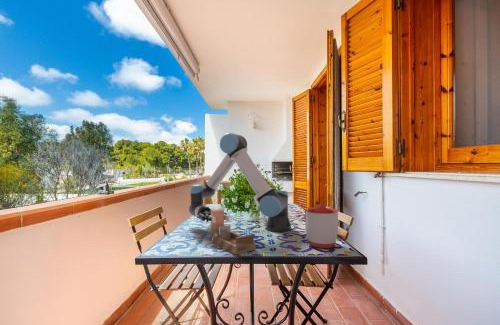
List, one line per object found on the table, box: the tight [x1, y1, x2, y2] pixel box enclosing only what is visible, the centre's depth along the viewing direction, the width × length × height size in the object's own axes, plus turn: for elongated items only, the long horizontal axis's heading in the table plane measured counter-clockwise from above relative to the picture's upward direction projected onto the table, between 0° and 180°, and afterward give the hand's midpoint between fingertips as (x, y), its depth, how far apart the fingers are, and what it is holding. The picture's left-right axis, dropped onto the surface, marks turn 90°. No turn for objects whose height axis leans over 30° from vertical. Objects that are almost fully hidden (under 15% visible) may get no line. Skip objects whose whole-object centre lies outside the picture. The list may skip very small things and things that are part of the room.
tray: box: [211, 231, 257, 255], centre depth 123 cm, size 22×11×7 cm, turn 35°
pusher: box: [218, 224, 231, 240], centre depth 129 cm, size 1×6×7 cm, turn 125°
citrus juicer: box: [301, 203, 339, 249], centre depth 123 cm, size 16×17×20 cm
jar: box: [210, 206, 225, 234], centre depth 135 cm, size 7×7×12 cm
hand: (221, 219), depth 131 cm, fingers closed on jar, 7 cm apart
